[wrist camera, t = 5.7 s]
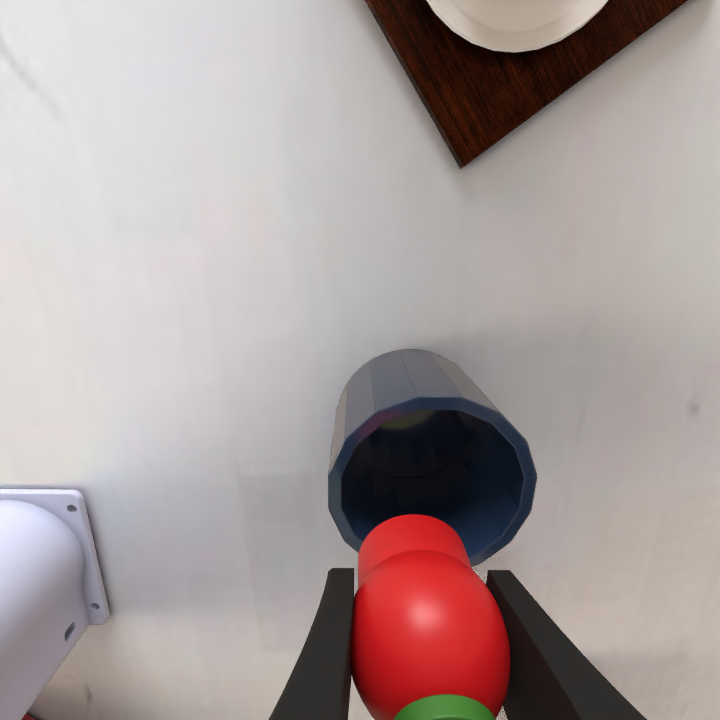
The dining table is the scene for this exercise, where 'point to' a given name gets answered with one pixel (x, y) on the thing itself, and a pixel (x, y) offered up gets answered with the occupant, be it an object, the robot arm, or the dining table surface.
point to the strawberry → (425, 627)
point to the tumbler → (427, 454)
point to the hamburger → (504, 56)
